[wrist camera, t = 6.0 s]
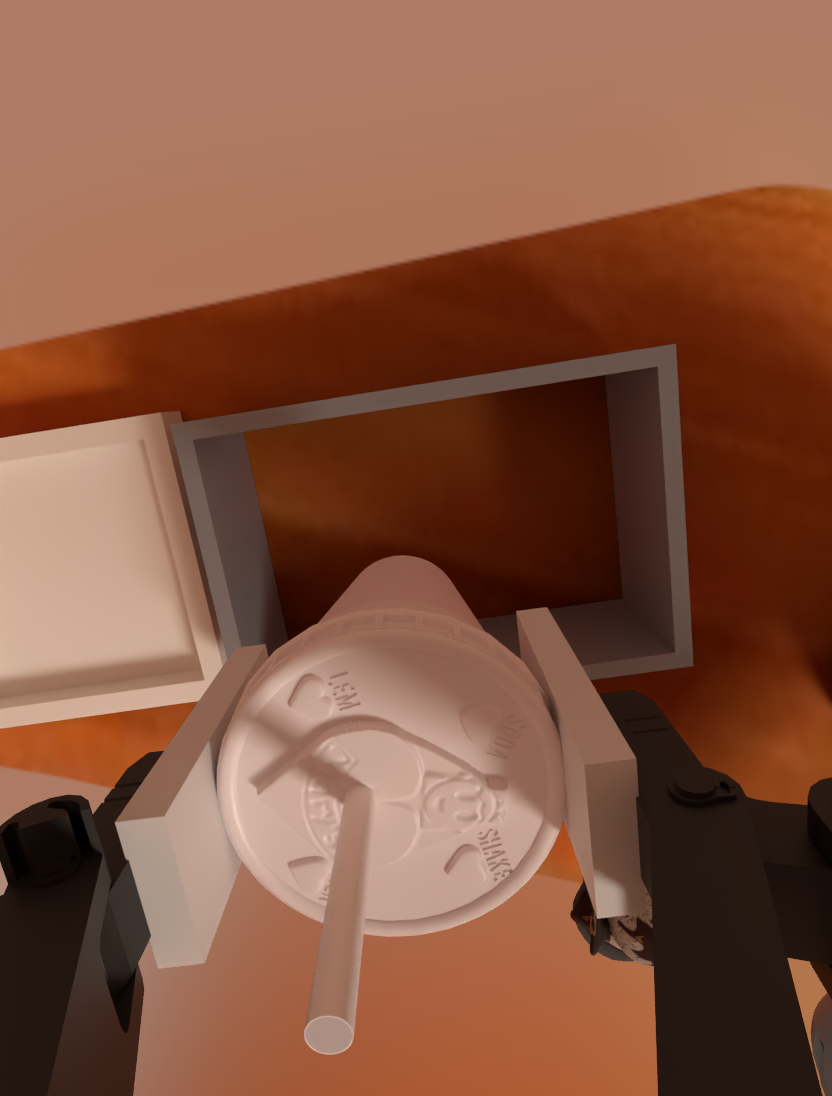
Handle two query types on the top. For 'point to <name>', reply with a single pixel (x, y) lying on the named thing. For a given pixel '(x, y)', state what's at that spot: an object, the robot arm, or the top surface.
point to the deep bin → (590, 629)
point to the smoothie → (390, 775)
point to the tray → (100, 574)
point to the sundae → (615, 931)
